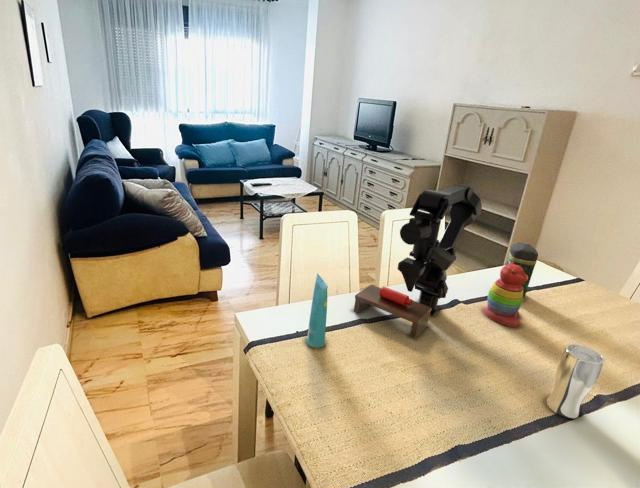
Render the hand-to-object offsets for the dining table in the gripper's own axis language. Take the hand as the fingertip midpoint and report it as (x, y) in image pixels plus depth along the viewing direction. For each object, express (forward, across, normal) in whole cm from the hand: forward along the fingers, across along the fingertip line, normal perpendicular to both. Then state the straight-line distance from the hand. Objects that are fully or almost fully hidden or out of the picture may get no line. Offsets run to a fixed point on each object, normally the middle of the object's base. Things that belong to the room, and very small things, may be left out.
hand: (416, 285), depth 112 cm
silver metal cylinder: (+12, -9, -40) cm, 43 cm away
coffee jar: (+12, +43, -19) cm, 49 cm away
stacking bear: (+12, +24, -20) cm, 34 cm away
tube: (+12, -29, +14) cm, 34 cm away
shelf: (+12, -3, +5) cm, 13 cm away
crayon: (+6, -3, +5) cm, 8 cm away
